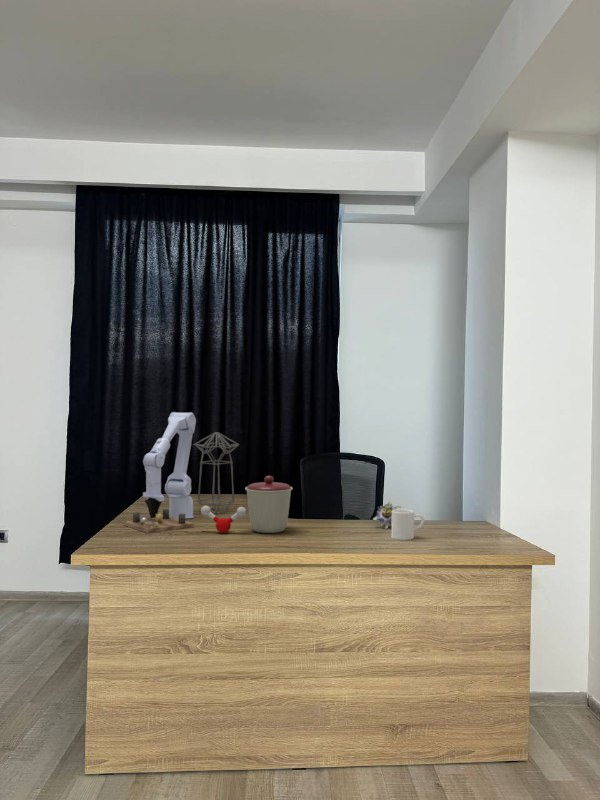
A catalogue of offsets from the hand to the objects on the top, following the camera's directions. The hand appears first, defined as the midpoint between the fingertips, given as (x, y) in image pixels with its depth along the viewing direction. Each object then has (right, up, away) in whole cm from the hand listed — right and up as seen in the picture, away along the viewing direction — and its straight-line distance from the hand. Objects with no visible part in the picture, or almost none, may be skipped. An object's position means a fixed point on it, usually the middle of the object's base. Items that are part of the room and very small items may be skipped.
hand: (153, 517), depth 290 cm
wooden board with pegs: (+3, -3, -3) cm, 5 cm away
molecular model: (+29, -4, -15) cm, 33 cm away
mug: (+97, -4, -22) cm, 100 cm away
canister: (+46, -4, -11) cm, 47 cm away
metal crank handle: (0, -1, -5) cm, 5 cm away
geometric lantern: (+21, -3, +32) cm, 38 cm away
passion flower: (+93, -4, -1) cm, 93 cm away
